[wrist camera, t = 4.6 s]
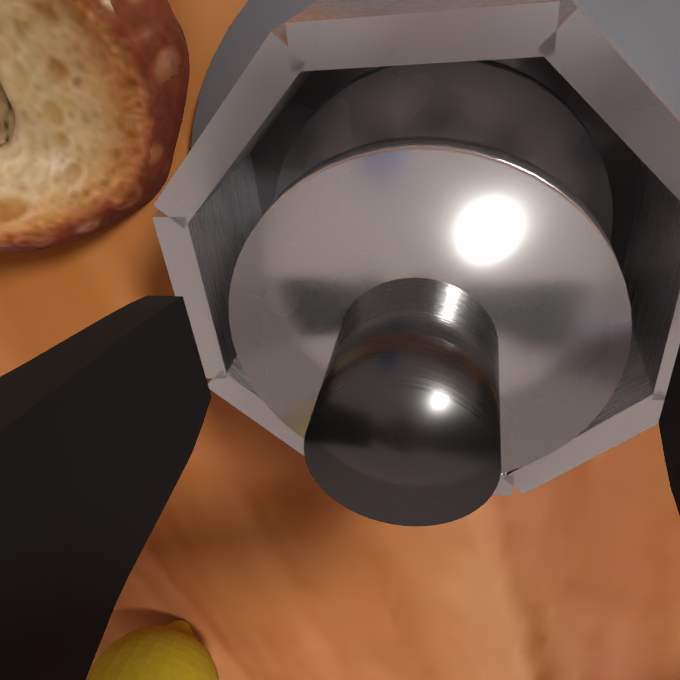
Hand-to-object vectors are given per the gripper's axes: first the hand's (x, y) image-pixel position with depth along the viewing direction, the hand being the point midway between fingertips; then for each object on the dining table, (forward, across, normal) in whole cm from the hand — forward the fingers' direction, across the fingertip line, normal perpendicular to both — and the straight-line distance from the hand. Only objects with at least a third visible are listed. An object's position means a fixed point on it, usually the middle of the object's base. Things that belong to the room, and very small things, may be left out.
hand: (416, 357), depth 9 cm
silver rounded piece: (+4, 0, 0) cm, 4 cm away
